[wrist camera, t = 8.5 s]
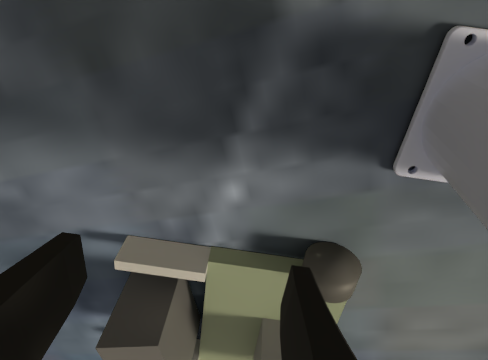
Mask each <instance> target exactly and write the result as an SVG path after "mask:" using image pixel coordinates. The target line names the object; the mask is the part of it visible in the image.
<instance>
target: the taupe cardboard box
mask: <svg viewBox="0 0 488 360" xmlns="http://www.w3.org/2000/svg"><path fill="white" fill-rule="evenodd" d="M200 319H201V317H200V314H199V311H198V308H197V305H196V302H195V300H194V297H193V294H192V291H191V288H190V285H189V282H188V280H186V279H179V278H172V277H165V276H158V275H151V274H144V273H137V272H131V274H130V276H129V278H128V280H127V282H126V284H125V286H124V288H123V291H122V293H121V295H120V297H119V299H118V301H117V303H116V306H115V308H114V310H113V312H112V314H111V316H110V318H109V320H108V323H107V325H106V327H105V329H104V331H103V333H102V335H101V337H100V340H99V342H98V344H97V346H96V350H97V351H98V353H99V355H100V356H101V358H102V359H103V360H192V358H193V353H194V348H195V343H196V338H197V333H198V329H199V324H200Z"/></svg>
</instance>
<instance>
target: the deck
mask: <svg viewBox="0 0 488 360" xmlns="http://www.w3.org/2000/svg"><path fill="white" fill-rule="evenodd" d="M114 265H115V269H116V270H123V271H130V272H137V273H144V274H151V275H158V276H165V277H172V278H179V279H186V280H193V281H200V282H205V278H206V287H205V298H204V308H203V319H202V329H201V339H196V343H195V348H194V353H193V358H192V360H282V359H281V345H280V308H281V301H282V298H283V294H284V290H285V287H286V283H287V280H288V276H289V272H290V269H291V265H295V266H302V267H309V268H310V269H311V270H312V272H313V275H314V277H315V280H316V282H317V285H318V287H319V289H320V291H321V294H322V296H323V298H324V300H325V302H326V304H327V306H328V308H329V310H330V312H331V314H332V316H333V318H334V320H335V322H336V324H337V323H338V320H339V318H340V316H341V313H342V311H343V309H344V306H345V304H346V302H347V300H348V299H349V298H350V297H351V296H352V294H353V292H354V289H355V287H356V285H357V282H358V280H359V278H360V275H361V273H362V267H361V264H360V261H359V260H358V258H357V257H356V256H355V255H354V254H353V253H352V252H351V251H349V250H348V249H346V248H345V247H343V246H340V245H338V244H335V243H330V242H318V243H315V244H313V245H311V246H310V247H309V248H308V249H307V251H306V253H305V257H304V260H303V259H296V258H289V257H282V256H275V255H268V254H262V253H255V252H248V251H241V250H234V249H227V248H220V247H213V246H211V247H205V246H198V245H192V244H185V243H178V242H171V241H164V240H157V239H150V238H143V237H136V236H129V235H128V236H127V238H126V240H125V241H124V243H123V245H122V247H121V249H120V251H119V252H118V254H117V256H116V258H115V260H114ZM206 274H207V277H206Z"/></svg>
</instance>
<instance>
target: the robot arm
mask: <svg viewBox="0 0 488 360" xmlns="http://www.w3.org/2000/svg"><path fill="white" fill-rule="evenodd" d="M469 34H472V36H473V37H472V40H471V41H470V42H469V43H468V44H465V43H464V41H465V38H466V37H467V36H468V35H469ZM411 166H415V168H414V169H413V170H411V171H408V169H409V167H411ZM393 169H394V171H395V173H396V174H397V175H399V176H405V177H412V178H419V179H426V180H432V181H439V182H446V183H449V184H450V185H451V186H452V188H453V189H454V190H455V191H456V192H457V194H458V195H459V196H460V197H461V198H462V200H463V201H464V202H465V203H466V204H467V206H468V207H469V208H470V209H471V210H472V212H473V213H474V214H475V215H476V216H477V218H478V219H479V220H480V221H481V223H482V224H483V225H484V226H485V227H486V229H487V230H488V29H481V28H474V27H467V26H455V27H453V28H452V29H450V30H449V31H448V33H447V35H446V36H445V39H444V41H443V44H442V46H441V49H440V51H439V54H438V56H437V59H436V61H435V64H434V66H433V68H432V71H431V73H430V76H429V78H428V81H427V83H426V86H425V88H424V91H423V93H422V95H421V98H420V100H419V103H418V105H417V108H416V110H415V113H414V115H413V118H412V120H411V123H410V125H409V127H408V130H407V132H406V135H405V137H404V140H403V142H402V145H401V147H400V150H399V152H398V155H397V157H396V159H395V162H394V164H393ZM86 279H87V273H86V267H85V261H84V255H83V249H82V243H81V237H80V235H78V234H71V233H64V232H62V233H60V234H59V235H57V236H56V237H54V238H53V239H51V240H50V241H49V242H47V243H46V244H44V245H43V246H41V247H40V248H38V249H37V250H35V251H34V252H33V253H31V254H30V255H28V256H27V257H25V258H24V259H22V260H21V261H19V262H18V263H16V264H15V265H13V266H12V267H10V268H9V269H7V270H6V271H4V272H3V273H1V274H0V360H42V358H43V356H44V355H45V353H46V351H47V350H48V348H49V347H50V345H51V343H52V342H53V340H54V338H55V337H56V335H57V334H58V332H59V330H60V329H61V327H62V325H63V324H64V322H65V320H66V319H67V317H68V315H69V314H70V312H71V310H72V309H73V307H74V305H75V303H76V301H77V299H78V297H79V295H80V293H81V290H82V288H83V286H84V284H85V281H86ZM280 345H281V359H282V360H357V359H356V357H355V355H354V354H353V352H352V350H351V349H350V347H349V345H348V344H347V342H346V340H345V338H344V337H343V335H342V333H341V331H340V329H339V327H338V326H337V324H336V322H335V320H334V318H333V316H332V314H331V312H330V310H329V308H328V306H327V304H326V302H325V300H324V298H323V296H322V294H321V291H320V289H319V287H318V285H317V282H316V280H315V277H314V275H313V272H312V270H311V269H310V268H309V267H302V266H295V265H291V269H290V272H289V276H288V280H287V283H286V287H285V290H284V294H283V298H282V301H281V308H280Z"/></svg>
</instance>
